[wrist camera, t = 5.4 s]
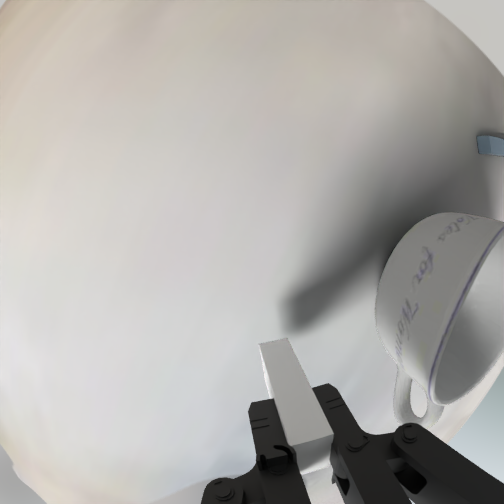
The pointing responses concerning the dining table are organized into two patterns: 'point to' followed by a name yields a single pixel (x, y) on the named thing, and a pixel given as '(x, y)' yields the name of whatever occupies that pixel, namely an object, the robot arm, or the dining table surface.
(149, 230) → the dining table surface
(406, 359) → the teacup
